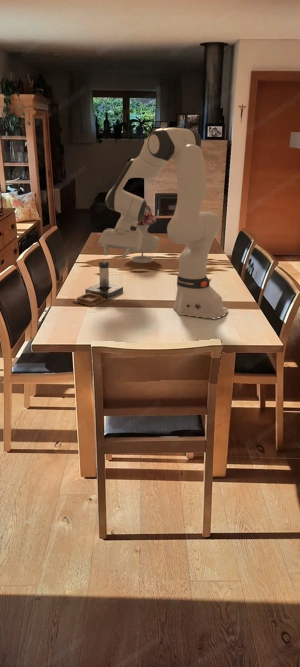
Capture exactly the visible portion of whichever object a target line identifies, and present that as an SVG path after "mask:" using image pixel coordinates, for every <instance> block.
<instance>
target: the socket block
mask: <svg viewBox="0 0 300 667" xmlns="http://www.w3.org/2000/svg"><path fill="white" fill-rule="evenodd" d="M84 290H85V293H84V294H86V293H91V294H96V295H100V296H102V298H106V300H107V299H108V300H110V299H112V298H114V297H116V296H118V295H120V294H123V293H124V287H123V286H121V285H116V284H110V283H109V289H108V290H101V289H100V282H98V283H97V284H94V285H92V286H89V287H87V288H85V289H84ZM111 297H112V298H111ZM109 298H110V299H109Z"/></svg>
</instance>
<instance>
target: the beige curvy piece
mask: <svg viewBox="0 0 300 667" xmlns="http://www.w3.org/2000/svg"><path fill="white" fill-rule="evenodd" d="M147 206H148V207H147V210H146V212H145V214H144V217H143V219H142V220H141V221H139V222H138V223H137V225H136V227H138V228H139V229H140V231H141V232H142V235H143V238H142V239H141V240H142V244H141V247H140V249H139V251H137V252H136V251H132V253H140V254H141V255H137V256H132V257H130V258H129V259H130V261H131V262H133V263H138V264H148V263H149V264H150V263H152V262H154V261H155V258H154V257H152V256H148V255H144V253H145V254H150V253H152V252H153V251H154V250H155V249H156V248H157V247H158V245H159V243H160V241H161V239H160V237H158V236H156V235H153V234H151V233H150V232H148V229H149V227H150V225H153V224H154V223H156V222H157V219H158V217H157V216H155V215H153V209H152V207H151V206H150V205H149V204H147Z"/></svg>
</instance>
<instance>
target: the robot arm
mask: <svg viewBox="0 0 300 667" xmlns="http://www.w3.org/2000/svg"><path fill="white" fill-rule="evenodd" d="M201 147H202V138H201V135H200V133H199V132H198V131H197V130H196V129H193V128H188V127H187V128H183V127H167V128H158V129H157V128H156V129H155V130H153V131H151V132H150V134H149V135H148V136H147V137H146V140H145V142H144V143H143V146H142V148H141V151H140V153H139V155H138V156H137V157H135V158H131V159H130V160H129V161H127V163H126V165H125V166H124V168H123V169H122V171H121V172H120V174H119V176H118V178H117V179H116V181H115V183H114V184H113V186H112V188H111V189H109V191H108V193H107V194H106V197H105V204H106V207H107V208H108V210H111V211H113V212H118V213H120V218H119V219H118V221H117V222H116V225H115V227H114V228H109V227H107V228H106V229H104V230H103V231H102V234H101V235H100V236H99V239H98V244H99V246H100V247H102V248H103V254H102V255H103V256H108V255H109V251H108V250H109V249H116V250H124V251H125V252H122V253H121V257H122V259H126V258H127V256H128V255H129V254H130V253H131V252H133V251H136V252H135V253H138V252H137V251H139V249H140V247H141V244H142V240H141V239H142V238H143V235H142V232H141V231H140V229H139V228H138V227H137V226H136V225H137V223H138V222H139V221H141V220H142V219H143V217H144V214H145V212H146V210H147V207H148V206H147V205H148V204H147V201H146V200H145V199H144V198H142V197H141V196H138V195H136V194H134V193H131V192H128V191H127V190H124V187H125V185H126V183H127V182H128V180H130V179H134V178H137V179H138V178H141V179H152V178H156V177H158V176H159V175H160V174H161V173H162V171H163V169H164V168H165V166H166V163H167V162H168V161H170V160H172V161H173V162H174V163H175V173H176V187H177V189H176V190H177V200H176V206H175V210H174V212H173V216H172V217H171V219H170V221H169V222H168V224H167V225H166V226H167V227H166V232H167V233H166V234H167V237H168V238H169V240H170V241H171V242H172V243H174V244H177V245H185V247H184V249H183V250H182V252H180V255H179V259H178V274H177V275H176V276H177V278H176V286H177V290H176V295H175V301H174V304H173V307H172V309H173V310H174V311H176V312H177V315H179V316H184V315H188V316H187V317H191V316H196V317H195V318H198V317H203V318H202V319H205V318H212V319H213V318H218V317H221V316H223V315H224V314H226V313H227V312H228V313H229V309H228V307H226V306H224V305H223V304H224V302H223V298H222V296H221V294H219V293H218V292H217V291H216V290H215V289H214V288H213V287H212V286H211V285H210V283H211V282H212V279H213V278H211V277H210V278H209V277H207V265H208V258H209V257H208V256H209V254H210V253H209V252H210V250H211V247H212V244H213V241H214V240H215V238H216V237H217V235H218V234H219V233H220V231H221V228H222V223H221V219H220V217H219V215H218V214H216V213H215V212H213V211H202V210H201V206H202V204H203V202H204V200H205V199H206V198H207V194H208V189H207V173H206V171H207V170H206V165H205V158H204V153H203V150H202V148H201ZM228 313H227V314H228ZM227 314H226V315H227ZM223 317H224V316H223ZM212 319H211V320H212Z"/></svg>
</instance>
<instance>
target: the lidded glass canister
mask: <svg viewBox="0 0 300 667" xmlns="http://www.w3.org/2000/svg"><path fill="white" fill-rule="evenodd" d="M98 267H99V283H100V289H101V290H108V289H109V284H110V280H109V279H110V275H109V273H110V272H109V269H110V268H109V267H110V262H108V261H99V262H98Z"/></svg>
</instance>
